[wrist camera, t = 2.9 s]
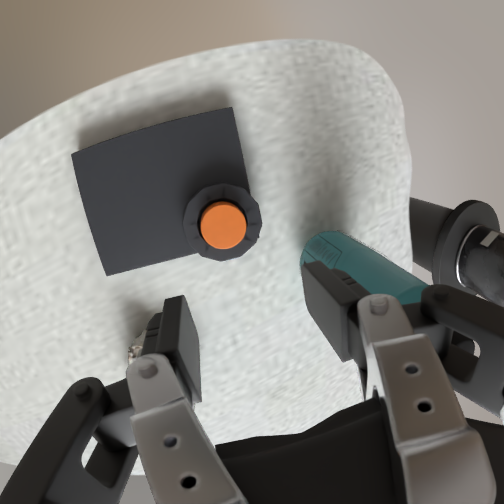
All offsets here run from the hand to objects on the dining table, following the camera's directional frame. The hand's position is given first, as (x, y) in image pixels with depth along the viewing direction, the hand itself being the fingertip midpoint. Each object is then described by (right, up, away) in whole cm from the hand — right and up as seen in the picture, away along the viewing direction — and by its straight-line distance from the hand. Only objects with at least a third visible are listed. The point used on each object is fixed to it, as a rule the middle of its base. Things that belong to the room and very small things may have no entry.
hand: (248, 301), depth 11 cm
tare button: (-2, +4, +13) cm, 14 cm away
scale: (-8, +7, +15) cm, 18 cm away
